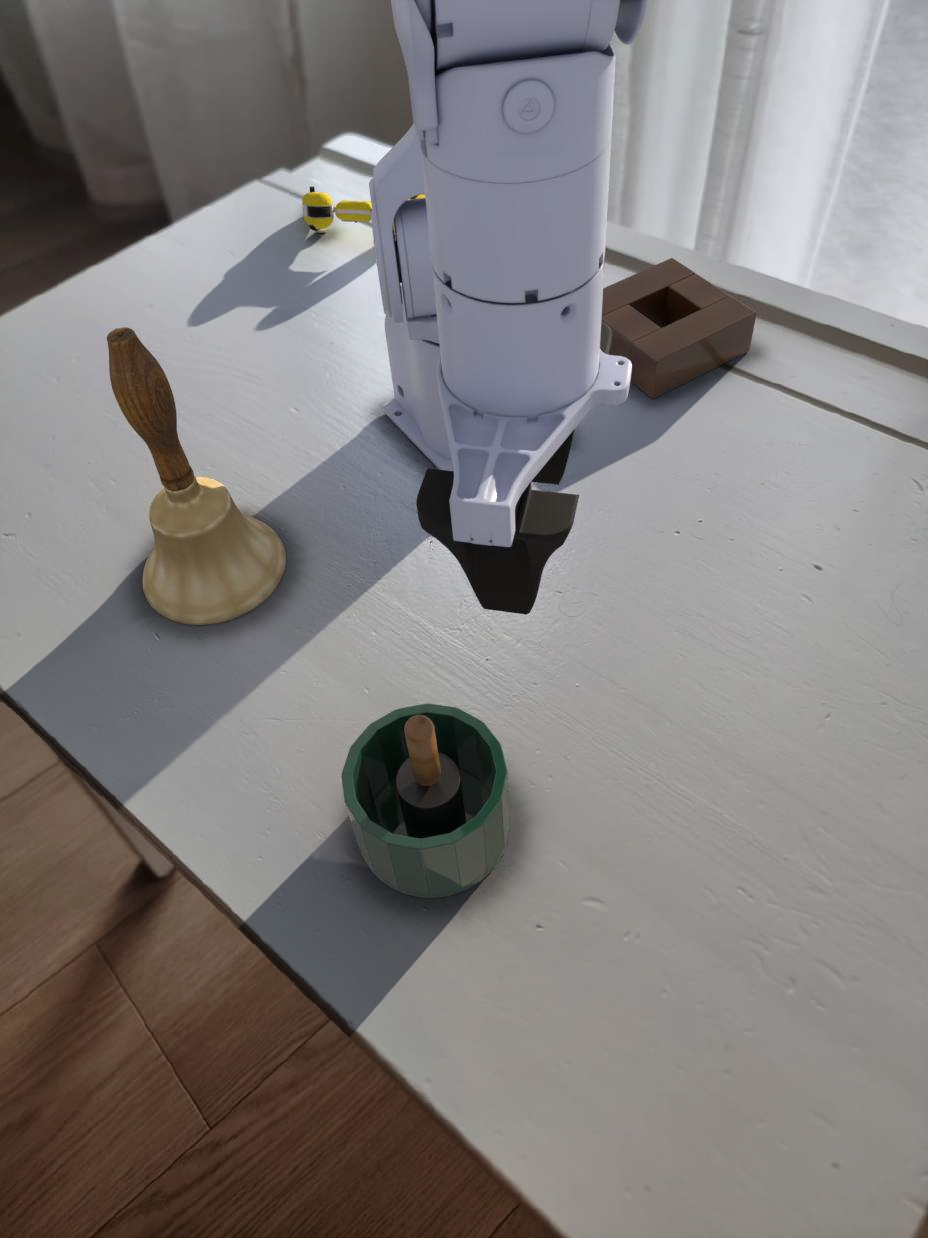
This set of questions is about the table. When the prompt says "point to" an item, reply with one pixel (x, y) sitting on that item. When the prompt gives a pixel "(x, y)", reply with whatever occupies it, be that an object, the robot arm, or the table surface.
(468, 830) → the cup
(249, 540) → the hand bell
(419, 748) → the peg-topped grey cylinder
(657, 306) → the frame
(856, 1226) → the table surface
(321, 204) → the yellow segmented toy
